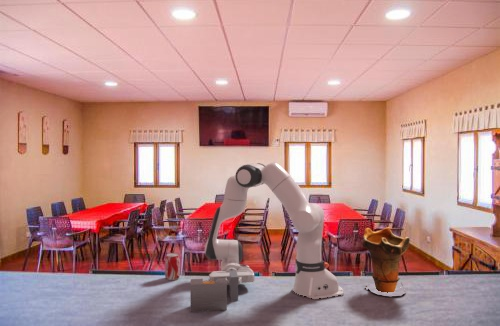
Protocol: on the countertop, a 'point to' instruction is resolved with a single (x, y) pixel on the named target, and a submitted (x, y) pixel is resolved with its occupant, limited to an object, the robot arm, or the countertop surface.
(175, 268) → the soda can
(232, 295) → the grey block
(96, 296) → the countertop surface
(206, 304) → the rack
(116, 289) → the countertop surface
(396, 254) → the decorative vase
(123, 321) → the countertop surface
